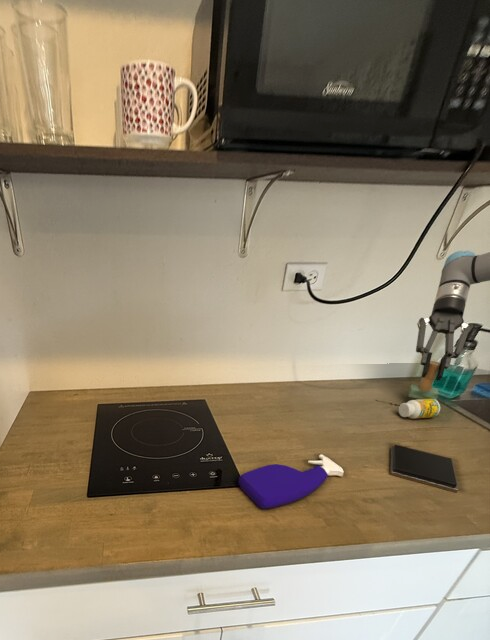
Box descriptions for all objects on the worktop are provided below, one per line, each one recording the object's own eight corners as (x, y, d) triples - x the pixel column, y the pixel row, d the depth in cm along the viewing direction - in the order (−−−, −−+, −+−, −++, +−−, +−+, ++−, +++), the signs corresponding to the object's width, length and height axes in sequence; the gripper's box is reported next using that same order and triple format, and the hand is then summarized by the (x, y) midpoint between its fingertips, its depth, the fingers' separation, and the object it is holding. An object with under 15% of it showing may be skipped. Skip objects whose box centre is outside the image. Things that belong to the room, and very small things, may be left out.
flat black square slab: (450, 463, 93) (453, 457, 92) (456, 493, 83) (460, 486, 83) (390, 448, 97) (392, 443, 96) (389, 474, 88) (392, 468, 87)
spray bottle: (267, 503, 74) (356, 473, 84) (234, 471, 83) (319, 447, 92) (264, 515, 76) (352, 483, 86) (232, 482, 84) (316, 457, 94)
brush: (434, 396, 115) (448, 362, 109) (435, 401, 112) (449, 367, 106) (407, 391, 118) (419, 358, 112) (408, 396, 115) (420, 363, 109)
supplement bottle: (426, 397, 113) (397, 399, 111) (442, 399, 108) (412, 401, 106) (424, 415, 114) (395, 417, 113) (439, 418, 109) (410, 421, 108)
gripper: (422, 291, 111) (402, 365, 107) (489, 299, 105) (471, 377, 101) (414, 306, 118) (396, 376, 114) (477, 314, 112) (460, 387, 108)
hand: (431, 376), depth 108 cm, fingers closed on brush, 3 cm apart
